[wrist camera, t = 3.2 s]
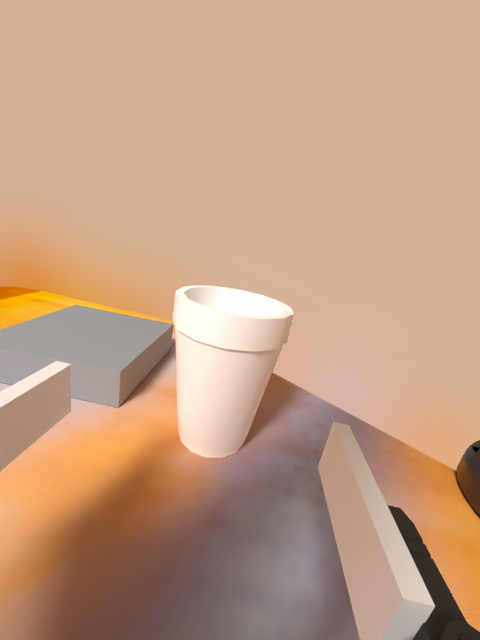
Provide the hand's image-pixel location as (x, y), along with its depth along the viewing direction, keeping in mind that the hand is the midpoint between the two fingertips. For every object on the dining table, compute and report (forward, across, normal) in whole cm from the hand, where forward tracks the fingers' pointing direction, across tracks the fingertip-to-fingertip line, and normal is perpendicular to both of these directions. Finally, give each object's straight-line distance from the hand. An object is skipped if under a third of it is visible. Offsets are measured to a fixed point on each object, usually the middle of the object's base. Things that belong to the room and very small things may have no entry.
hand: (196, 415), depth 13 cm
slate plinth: (+18, -17, -9) cm, 26 cm away
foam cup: (+10, 0, -9) cm, 14 cm away
